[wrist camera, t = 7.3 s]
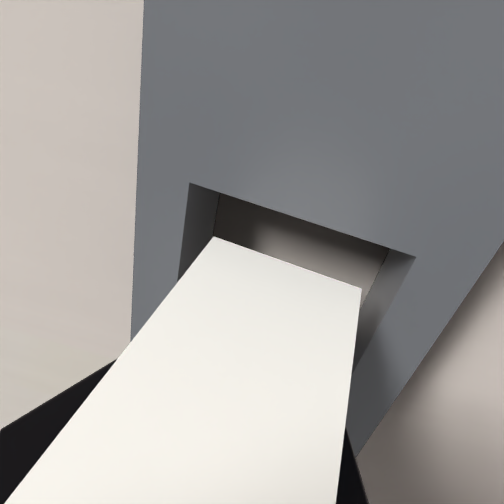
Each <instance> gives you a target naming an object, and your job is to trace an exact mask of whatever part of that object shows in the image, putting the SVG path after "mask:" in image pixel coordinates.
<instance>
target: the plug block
mask: <svg viewBox="0 0 504 504" xmlns="http://www.w3.org/2000/svg"><path fill="white" fill-rule="evenodd" d="M361 291H362V288H359V287H356V286H353V285H350V284H347V283H345V282H342V281H339V280H336V279H333V278H330V277H327V276H325V275H322V274H319V273H316V272H313V271H310V270H308V269H305V268H302V267H299V266H296V265H293V264H291V263H288V262H285V261H282V260H279V259H276V258H274V257H271V256H268V255H265V254H262V253H259V252H256V251H254V250H251V249H248V248H245V247H242V246H239V245H237V244H234V243H231V242H228V241H225V240H222V239H220V238H217V237H213V238H212V239H211V240H210V242H209V243H208V244H207V246H206V247H205V248H204V249H203V251H202V252H201V253H200V254H199V256H198V257H197V258H196V260H195V261H194V262H193V263H192V265H191V266H190V267H189V268H188V270H187V271H186V272H185V274H184V275H183V276H182V277H181V279H180V280H179V281H178V283H177V284H176V285H175V286H174V288H173V289H172V290H171V291H170V293H169V294H168V295H167V297H166V298H165V299H164V300H163V302H162V303H161V304H160V305H159V307H158V308H157V309H156V311H155V312H154V313H153V314H152V316H151V317H150V318H149V320H148V321H147V322H146V323H145V325H144V326H143V327H142V328H141V330H140V331H139V332H138V334H137V335H136V336H135V337H134V339H133V340H132V341H131V342H130V344H129V345H128V346H127V348H126V349H125V350H124V351H123V353H122V354H121V355H120V356H119V358H118V359H117V360H116V362H115V363H114V364H113V365H112V367H111V368H110V369H109V371H108V372H107V373H106V374H105V376H104V377H103V378H102V379H101V381H100V382H99V383H98V385H97V386H96V387H95V388H94V390H93V391H92V392H91V393H90V395H89V396H88V397H87V399H86V400H85V401H84V402H83V404H82V405H81V406H80V408H79V409H78V410H77V411H76V413H75V414H74V415H73V416H72V418H71V419H70V420H69V422H68V423H67V424H66V425H65V427H64V428H63V429H62V430H61V432H60V433H59V434H58V436H57V437H56V438H55V439H54V441H53V442H52V443H51V445H50V446H49V447H48V448H47V450H46V451H45V452H44V453H43V455H42V456H41V457H40V459H39V460H38V461H37V462H36V464H35V465H34V466H33V467H32V469H31V470H30V471H29V473H28V474H27V475H26V476H25V478H24V479H23V480H22V482H21V483H20V484H19V485H18V487H17V488H16V489H15V490H14V492H13V493H12V494H11V496H10V497H9V498H8V499H7V501H6V502H5V503H4V504H336V497H337V489H338V481H339V472H340V464H341V456H342V448H343V439H344V431H345V423H346V415H347V406H348V398H349V390H350V382H351V373H352V365H353V357H354V349H355V341H356V332H357V324H358V316H359V308H360V299H361Z"/></svg>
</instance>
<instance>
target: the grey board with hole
mask: <svg viewBox="0 0 504 504" xmlns="http://www.w3.org/2000/svg"><path fill="white" fill-rule="evenodd" d="M220 193H223V194H226V195H229V196H232V197H235V198H238V199H241V200H244V201H247V202H251V203H254V204H257V205H260V206H263V207H266V208H269V209H272V210H275V211H278V212H281V213H284V214H287V215H290V216H293V217H296V218H299V219H302V220H305V221H308V222H312V223H315V224H318V225H321V226H324V227H327V228H330V229H333V230H336V231H339V232H342V233H345V234H348V235H351V236H354V237H357V238H360V239H363V240H366V241H369V242H372V243H376V244H379V245H382V246H385V247H388V248H390V250H389V252H388V254H387V256H386V259H385V261H384V263H383V265H382V267H381V269H380V271H379V273H378V275H377V277H376V279H375V281H374V283H373V285H372V287H371V289H370V291H369V293H368V295H367V297H366V299H365V301H364V303H363V305H362V307H361V309H360V311H359V316H358V324H357V332H356V341H355V349H354V357H353V365H352V373H351V382H350V390H349V398H348V406H347V415H346V423H345V424H346V428H347V431H348V434H349V438H350V441H351V445H352V448H353V451H354V455H355V458H356V456H357V455H358V453H359V452H360V450H361V449H362V448H363V446H364V445H365V443H366V442H367V440H368V439H369V437H370V436H371V434H372V433H373V431H374V430H375V429H376V427H377V426H378V424H379V423H380V421H381V420H382V418H383V417H384V415H385V414H386V412H387V411H388V410H389V408H390V407H391V405H392V404H393V402H394V401H395V399H396V398H397V396H398V395H399V394H400V392H401V391H402V389H403V388H404V386H405V385H406V383H407V382H408V380H409V379H410V377H411V376H412V375H413V373H414V372H415V370H416V369H417V367H418V366H419V364H420V363H421V361H422V360H423V358H424V357H425V356H426V354H427V353H428V351H429V350H430V348H431V347H432V345H433V344H434V342H435V341H436V339H437V338H438V337H439V335H440V334H441V332H442V331H443V329H444V328H445V326H446V325H447V323H448V322H449V320H450V319H451V318H452V316H453V315H454V313H455V312H456V310H457V309H458V307H459V306H460V304H461V303H462V302H463V300H464V299H465V297H466V296H467V294H468V293H469V291H470V290H471V288H472V287H473V285H474V284H475V283H476V281H477V280H478V278H479V277H480V275H481V274H482V272H483V271H484V269H485V268H486V266H487V265H488V264H489V262H490V261H491V259H492V258H493V256H494V255H495V253H496V252H497V250H498V249H499V247H500V246H501V245H502V243H503V242H504V0H144V14H143V39H142V64H141V90H140V115H139V140H138V165H137V190H136V216H135V241H134V266H133V291H132V317H131V341H132V340H133V339H134V337H135V336H136V335H137V334H138V332H139V331H140V330H141V328H142V327H143V326H144V325H145V323H146V322H147V321H148V320H149V318H150V317H151V316H152V314H153V313H154V312H155V311H156V309H157V308H158V307H159V305H160V304H161V303H162V302H163V300H164V299H165V298H166V297H167V295H168V294H169V293H170V291H171V290H172V289H173V288H174V286H175V285H176V284H177V283H178V281H179V280H180V279H181V277H182V276H183V275H184V274H185V272H186V271H187V270H188V268H189V267H190V266H191V265H192V263H193V262H194V261H195V260H196V258H197V257H198V256H199V254H200V253H201V252H202V251H203V249H204V248H205V247H206V246H207V244H208V243H209V242H210V240H211V239H212V235H213V229H214V223H215V217H216V212H217V206H218V200H219V194H220Z"/></svg>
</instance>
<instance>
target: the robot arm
mask: <svg viewBox="0 0 504 504" xmlns="http://www.w3.org/2000/svg"><path fill="white" fill-rule="evenodd" d="M117 359H118V358H117ZM117 359H116V360H117ZM116 360H114V361H113V362H111V363H109V364H108V365H106V366H104V367H103V368H101V369H99V370H98V371H96V372H94V373H93V374H91V375H89V376H88V377H86V378H85V379H83V380H81V381H80V382H78V383H76V384H75V385H73V386H71V387H70V388H68V389H66V390H65V391H63V392H62V393H60V394H58V395H57V396H55V397H53V398H52V399H50V400H48V401H47V402H45V403H43V404H42V405H40V406H38V407H37V408H35V409H34V410H32V411H30V412H29V413H27V414H25V415H24V416H22V417H20V418H19V419H17V420H15V421H14V422H12V423H10V424H9V425H7V426H6V427H4V428H2V429H1V431H0V504H4V503H5V502H6V501H7V499H8V498H9V497H10V496H11V494H12V493H13V492H14V490H15V489H16V488H17V487H18V485H19V484H20V483H21V482H22V480H23V479H24V478H25V476H26V475H27V474H28V473H29V471H30V470H31V469H32V467H33V466H34V465H35V464H36V462H37V461H38V460H39V459H40V457H41V456H42V455H43V453H44V452H45V451H46V450H47V448H48V447H49V446H50V445H51V443H52V442H53V441H54V439H55V438H56V437H57V436H58V434H59V433H60V432H61V430H62V429H63V428H64V427H65V425H66V424H67V423H68V422H69V420H70V419H71V418H72V416H73V415H74V414H75V413H76V411H77V410H78V409H79V408H80V406H81V405H82V404H83V402H84V401H85V400H86V399H87V397H88V396H89V395H90V393H91V392H92V391H93V390H94V388H95V387H96V386H97V385H98V383H99V382H100V381H101V379H102V378H103V377H104V376H105V374H106V373H107V372H108V371H109V369H110V368H111V367H112V365H113V364H114V363H115V362H116ZM336 504H369V502H368V499H367V495H366V492H365V489H364V485H363V482H362V478H361V475H360V472H359V468H358V465H357V461H356V458H355V455H354V451H353V448H352V445H351V441H350V438H349V434H348V431H347V428H346V424H345V431H344V439H343V448H342V456H341V464H340V472H339V481H338V489H337V497H336Z"/></svg>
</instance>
